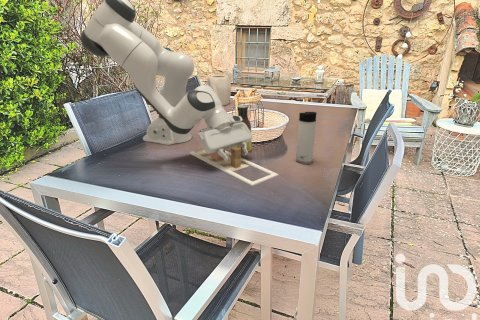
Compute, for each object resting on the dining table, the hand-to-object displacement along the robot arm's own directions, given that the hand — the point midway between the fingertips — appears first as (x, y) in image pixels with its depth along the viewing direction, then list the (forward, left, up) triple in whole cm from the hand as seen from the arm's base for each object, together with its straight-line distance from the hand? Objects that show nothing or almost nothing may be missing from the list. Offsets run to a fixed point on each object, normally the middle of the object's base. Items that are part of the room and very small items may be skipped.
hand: (237, 157), depth 117 cm
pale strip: (-9, +6, -5) cm, 12 cm away
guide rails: (-3, +2, -5) cm, 7 cm away
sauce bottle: (-2, +17, -6) cm, 18 cm away
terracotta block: (-9, +7, -4) cm, 12 cm away
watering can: (-38, +99, -6) cm, 106 cm away
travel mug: (+23, +14, -6) cm, 28 cm away
